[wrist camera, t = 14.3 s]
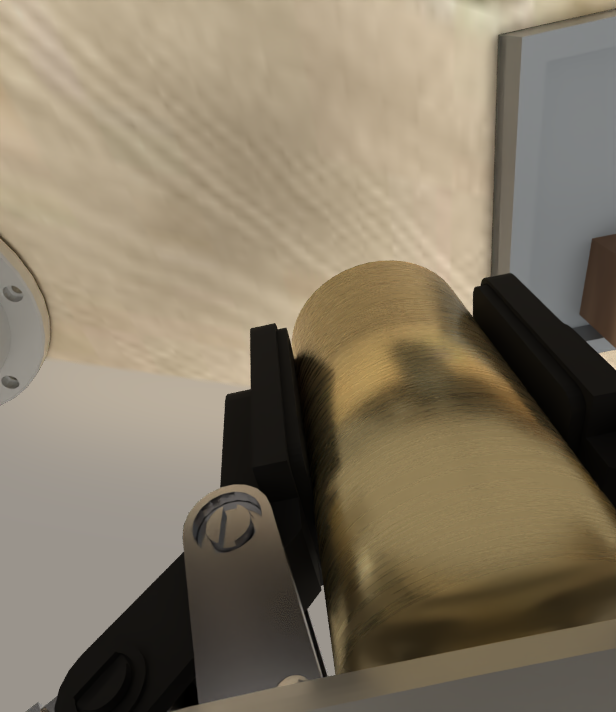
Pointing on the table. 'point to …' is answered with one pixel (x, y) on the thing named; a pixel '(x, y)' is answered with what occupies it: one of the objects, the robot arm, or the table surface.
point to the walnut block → (601, 288)
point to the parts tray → (555, 159)
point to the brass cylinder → (437, 479)
